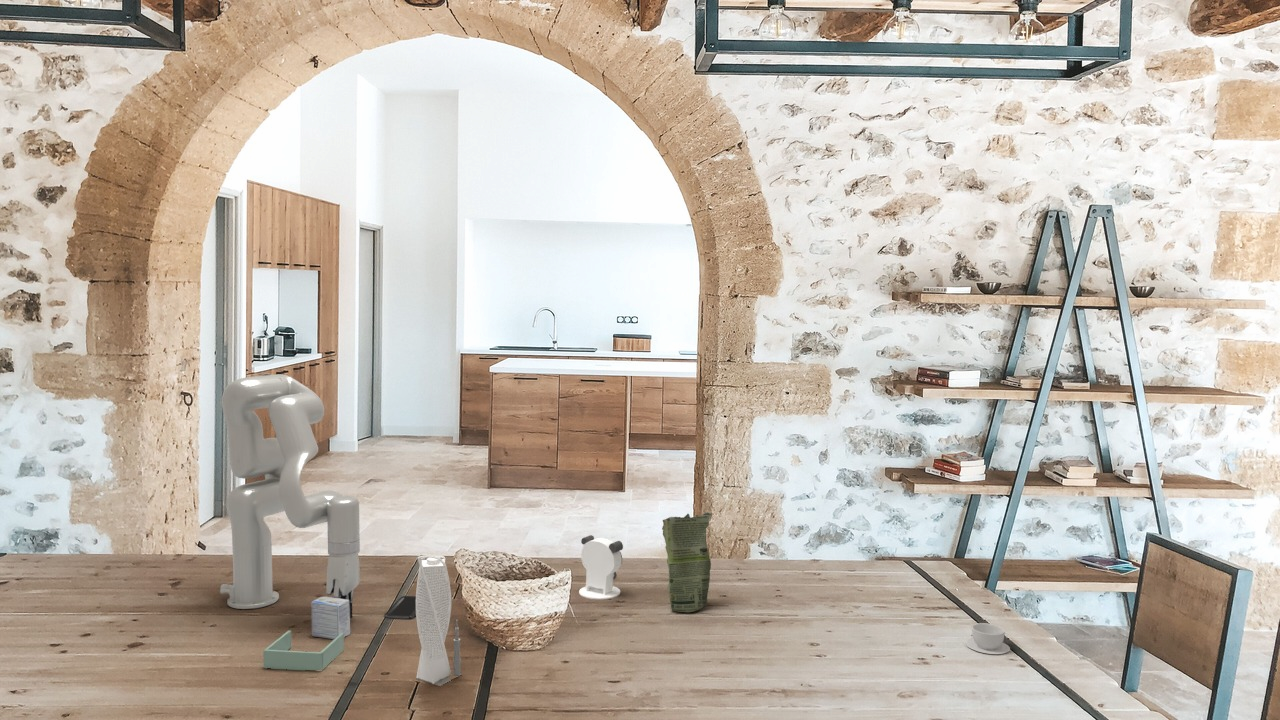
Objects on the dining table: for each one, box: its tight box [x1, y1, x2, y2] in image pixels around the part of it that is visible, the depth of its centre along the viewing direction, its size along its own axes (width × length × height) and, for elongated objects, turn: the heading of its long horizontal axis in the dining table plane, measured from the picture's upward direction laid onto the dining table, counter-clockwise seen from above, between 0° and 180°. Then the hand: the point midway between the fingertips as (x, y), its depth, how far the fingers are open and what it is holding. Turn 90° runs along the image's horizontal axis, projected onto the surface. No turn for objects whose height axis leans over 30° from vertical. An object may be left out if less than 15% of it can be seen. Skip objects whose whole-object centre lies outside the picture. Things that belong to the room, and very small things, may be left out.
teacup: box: [965, 622, 1011, 655], centre depth 222 cm, size 10×10×5 cm
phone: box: [384, 595, 416, 621], centre depth 242 cm, size 8×1×15 cm
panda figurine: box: [578, 534, 624, 600], centre depth 256 cm, size 12×11×15 cm
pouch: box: [661, 511, 712, 613], centre depth 246 cm, size 11×12×25 cm
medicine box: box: [311, 596, 351, 640], centre depth 223 cm, size 8×4×9 cm, turn 71°
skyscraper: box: [415, 554, 462, 687], centre depth 200 cm, size 8×8×28 cm
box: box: [262, 630, 345, 671], centre depth 209 cm, size 13×12×4 cm
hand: (344, 618), depth 231 cm, fingers closed
